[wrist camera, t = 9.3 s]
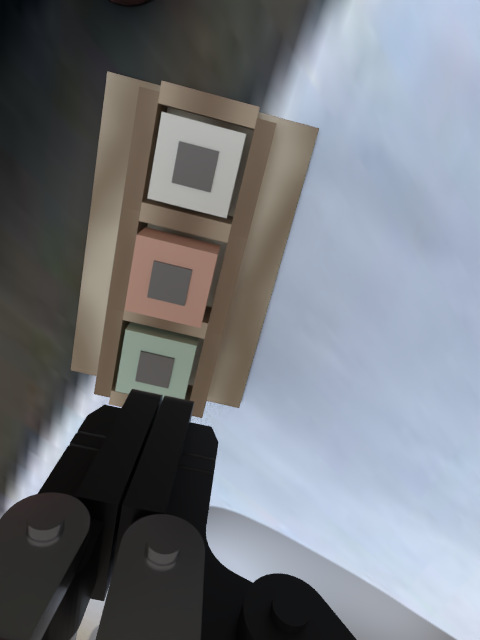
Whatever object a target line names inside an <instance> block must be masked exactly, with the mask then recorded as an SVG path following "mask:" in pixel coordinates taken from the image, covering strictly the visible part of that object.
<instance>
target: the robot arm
mask: <svg viewBox="0 0 480 640" xmlns="http://www.w3.org/2000/svg"><path fill="white" fill-rule="evenodd" d="M162 399H163V400H162ZM193 407H194V401H190V400H185V399H180V398H175V397H170V396H166V395H165V396H164V398H163V395H160V394H156V393H151V392H146V391H141V390H136V389H132V390H131V391H130V393H129V395H128V397H127V399H126V401H125V402H124V404H123V406H122V408H117V407H113V406H108V405H103V406H102V407H100V408H99V409H97V410H95V411H94V412H92V413H91V414H89V415H88V416H87V417H86V419H85V420H84V422H83V423H82V425H81V427H80V428H79V430H78V433H76V434H75V436H74V438H73V439H72V441H71V442H70V445H69V446H68V447H67V449H66V450H65V452H64V453H63V455H62V456H61V458H60V460H59V461H58V463H57V464H56V466H55V467H54V469H53V471H52V472H51V474H50V475H49V477H48V478H47V480H46V482H45V483H44V485H43V486H42V488H41V489H40V491H39V492H38V494H36V495H33V496H29V497H27V498H25V499H22V500H21V501H19V502H17V503H16V504H14V505H13V506H12V507H11V508H10V509H9V510H8V511H7V512H6V513H5V514H4V515H3V516H2V518H1V519H0V640H76V635H77V630H78V628H79V626H80V624H81V621H82V619H83V616H84V613H85V611H86V608H87V605H88V603H89V600H90V599H95V600H101V601H104V599H105V596H106V593H107V591H108V594H107V597H106V601H105V605H104V609H103V613H102V617H101V621H100V625H99V629H98V633H97V636H96V640H356V638H355V637H354V636H353V635H352V633H351V632H350V631H349V630H348V629H347V628H346V626H345V625H344V624H343V623H342V622H341V620H340V619H339V618H338V616H337V615H336V614H335V613H334V612H333V610H332V609H331V608H330V607H329V605H328V604H327V603H326V602H325V601H324V599H323V598H322V597H321V596H320V595H319V594H318V593H317V591H315V589H313V588H312V587H311V586H310V585H309V584H307V583H306V582H304V581H303V580H301V579H298V578H296V577H294V576H291V575H287V574H269V575H265V576H263V577H260V578H259V579H257V580H256V581H255V582H254V583H252V582H250V581H249V580H247V579H245V578H243V577H241V576H239V575H237V574H235V573H234V572H232V571H230V570H229V569H227V568H226V567H225V566H224V565H222V564H221V563H220V562H219V561H218V560H217V559H216V557H215V556H214V555H213V553H212V552H211V550H210V548H209V546H208V542H207V539H206V524H207V516H208V510H209V503H210V496H211V489H212V482H213V474H214V469H215V461H216V455H217V448H218V441H217V438H216V436H215V434H214V431H213V429H212V427H210V426H205V425H200V424H195V423H190V421H191V416H192V412H193ZM109 585H110V586H109ZM108 588H109V590H108Z"/></svg>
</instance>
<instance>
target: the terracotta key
mask: <svg viewBox="0 0 480 640" xmlns="http://www.w3.org/2000/svg"><path fill="white" fill-rule="evenodd" d="M219 250H220V245H216V244H212V243H208V242H204V241H200V240H196V239H191V238H187V237H183V236H179V235H175V234H171V233H167V232H163V231H159V230H155V229H151V228H147V227H145V228H144V229H143V230H142V231H140V232H139V233H138V234H137V235H136V241H135V248H134V254H133V260H132V266H131V272H130V278H129V285H128V291H127V297H126V303H125V309H124V310H126V311H130V312H134V313H138V314H143V315H147V316H151V317H155V318H160V319H164V320H168V321H172V322H177V323H181V324H185V325H189V326H193V327H198V328H201V325H202V321H203V318H204V314H205V310H206V305H207V301H208V297H209V292H210V288H211V284H212V280H213V275H214V271H215V267H216V262H217V258H218V254H219Z"/></svg>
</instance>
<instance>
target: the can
mask: <svg viewBox="0 0 480 640" xmlns="http://www.w3.org/2000/svg"><path fill="white" fill-rule="evenodd" d="M109 1H111V2H113V3H118V4H123V5H127V6H128V5H134V4H140V3H144V2H146V1H147V0H109Z"/></svg>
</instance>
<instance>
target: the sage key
mask: <svg viewBox="0 0 480 640" xmlns="http://www.w3.org/2000/svg"><path fill="white" fill-rule="evenodd" d="M198 341H199V338H198V337H194V336H189V335H185V334H181V333H177V332H172V331H168V330H164V329H160V328H155V327H151V326H147V325H143V324H138V323H134V322H130V323H129V325H128V326H127V328H126V329H125V335H124V341H123V347H122V353H121V359H120V365H119V371H118V377H117V383H116V389H115V391H117V392H121V393H126V394H129V393H130V391H131V390H132V389H136V390H141V391H146V392H151V393H156V394H160V395H163V398H164V396H165V395H166V396H170V397H175V398H180V399H185V396H186V392H187V388H188V384H189V379H190V375H191V371H192V367H193V362H194V358H195V354H196V349H197V345H198ZM162 400H163V399H162Z"/></svg>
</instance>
